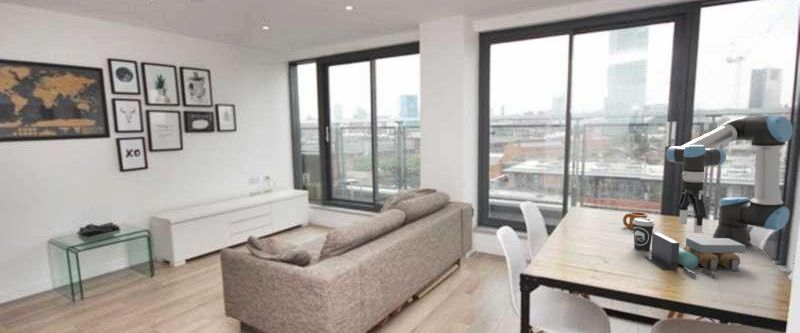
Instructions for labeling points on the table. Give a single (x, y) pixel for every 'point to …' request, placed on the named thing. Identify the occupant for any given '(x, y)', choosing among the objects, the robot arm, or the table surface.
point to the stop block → (664, 252)
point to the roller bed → (713, 268)
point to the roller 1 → (687, 259)
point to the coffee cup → (642, 233)
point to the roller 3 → (726, 258)
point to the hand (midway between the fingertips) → (690, 228)
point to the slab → (715, 245)
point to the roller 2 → (702, 256)
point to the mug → (632, 216)
